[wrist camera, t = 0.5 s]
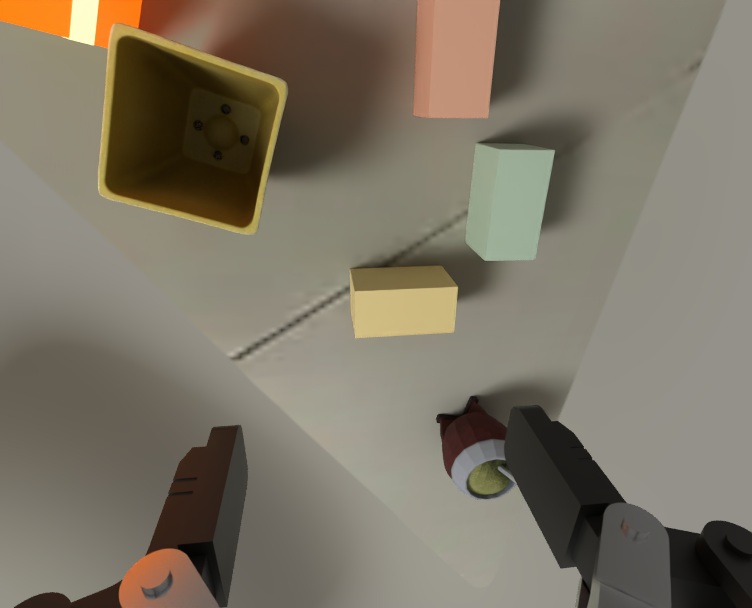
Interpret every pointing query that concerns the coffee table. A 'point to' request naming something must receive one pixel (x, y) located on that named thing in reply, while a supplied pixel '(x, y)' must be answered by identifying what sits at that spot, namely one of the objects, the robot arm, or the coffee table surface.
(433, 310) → the ochre brick
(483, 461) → the mate gourd
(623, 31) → the coffee table surface
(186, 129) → the flower pot
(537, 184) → the sage brick
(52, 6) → the orange juice
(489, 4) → the terracotta brick
